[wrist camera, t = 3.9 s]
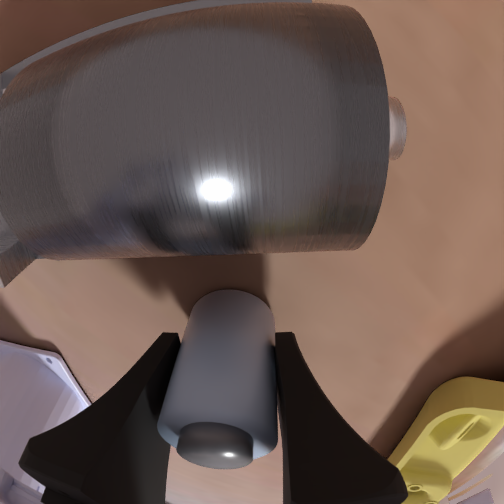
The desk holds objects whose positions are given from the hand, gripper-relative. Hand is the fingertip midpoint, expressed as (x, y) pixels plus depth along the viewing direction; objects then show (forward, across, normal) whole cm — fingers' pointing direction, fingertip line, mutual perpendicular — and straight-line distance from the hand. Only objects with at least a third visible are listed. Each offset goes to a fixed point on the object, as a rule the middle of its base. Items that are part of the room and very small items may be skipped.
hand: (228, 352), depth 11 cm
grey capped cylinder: (+2, 0, 0) cm, 2 cm away
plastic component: (+2, -16, +15) cm, 22 cm away
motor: (+2, +4, -8) cm, 9 cm away
